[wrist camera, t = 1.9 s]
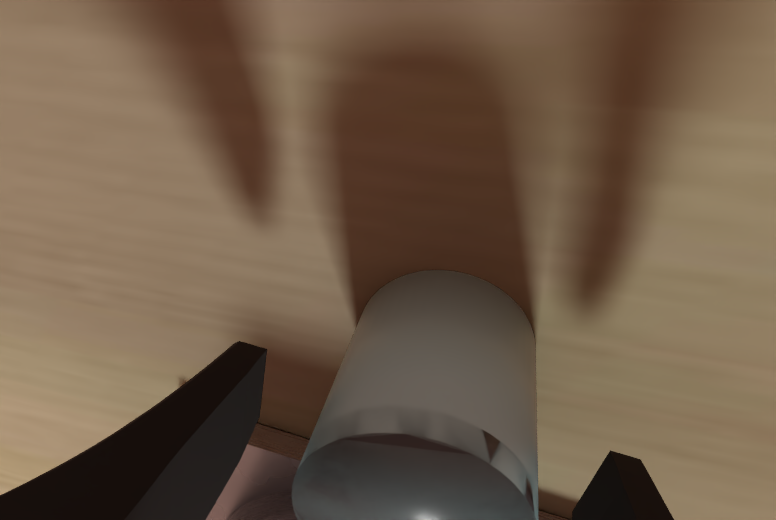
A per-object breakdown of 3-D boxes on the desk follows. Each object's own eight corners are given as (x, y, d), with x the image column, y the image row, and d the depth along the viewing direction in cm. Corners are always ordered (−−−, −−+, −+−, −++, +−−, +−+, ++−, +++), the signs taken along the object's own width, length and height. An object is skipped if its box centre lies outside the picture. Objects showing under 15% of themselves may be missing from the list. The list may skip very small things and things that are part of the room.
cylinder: (562, 300, 13) (579, 483, 9) (503, 430, 16) (495, 622, 11) (375, 247, 13) (306, 400, 9) (346, 383, 16) (280, 552, 12)
